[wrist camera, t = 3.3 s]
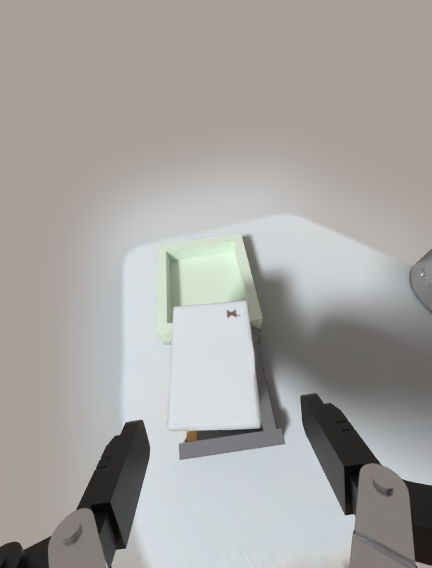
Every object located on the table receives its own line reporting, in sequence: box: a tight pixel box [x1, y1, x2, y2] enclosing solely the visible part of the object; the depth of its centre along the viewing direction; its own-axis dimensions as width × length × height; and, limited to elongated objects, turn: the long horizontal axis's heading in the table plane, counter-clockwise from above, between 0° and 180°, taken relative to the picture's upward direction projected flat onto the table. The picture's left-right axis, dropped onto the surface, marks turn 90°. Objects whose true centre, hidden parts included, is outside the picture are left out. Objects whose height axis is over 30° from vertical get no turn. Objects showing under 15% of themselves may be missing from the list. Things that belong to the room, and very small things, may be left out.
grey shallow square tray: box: [179, 328, 285, 460], centre depth 20 cm, size 8×9×2 cm
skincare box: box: [167, 300, 262, 431], centre depth 16 cm, size 6×4×12 cm
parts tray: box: [156, 233, 263, 345], centre depth 25 cm, size 10×11×3 cm
